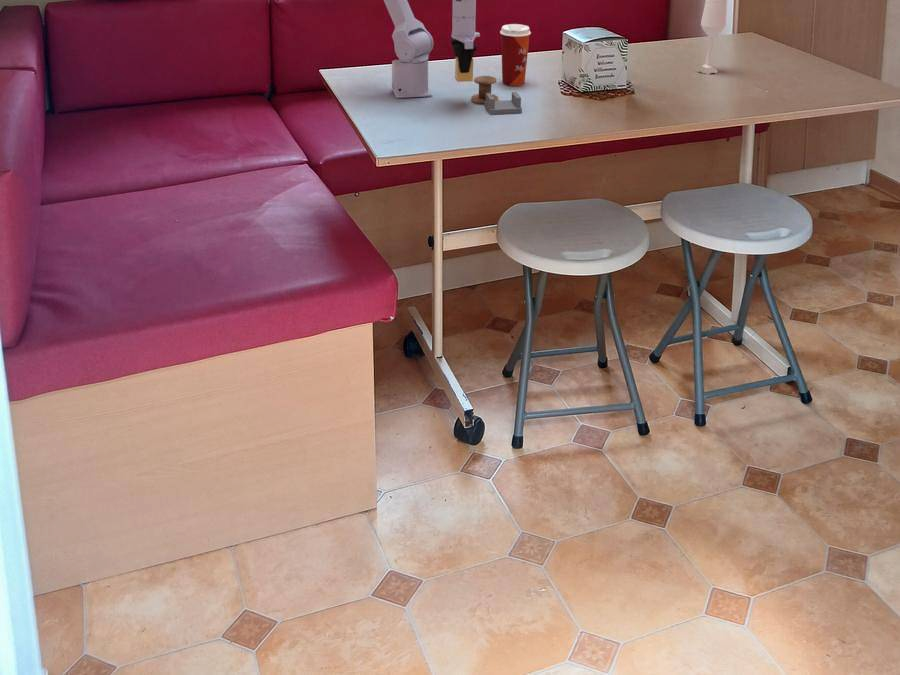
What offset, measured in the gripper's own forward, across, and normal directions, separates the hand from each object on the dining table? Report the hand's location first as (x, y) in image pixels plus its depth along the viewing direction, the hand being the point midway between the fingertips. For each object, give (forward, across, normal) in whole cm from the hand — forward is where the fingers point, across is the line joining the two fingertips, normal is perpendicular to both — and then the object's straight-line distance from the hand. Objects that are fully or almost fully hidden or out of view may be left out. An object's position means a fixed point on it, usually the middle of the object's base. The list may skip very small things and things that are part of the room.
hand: (463, 70), depth 263 cm
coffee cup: (+9, +15, -17) cm, 24 cm away
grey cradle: (+8, -7, -9) cm, 14 cm away
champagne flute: (+8, +18, -74) cm, 77 cm away
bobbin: (+8, +1, -6) cm, 10 cm away
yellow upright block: (+2, 0, 0) cm, 2 cm away
